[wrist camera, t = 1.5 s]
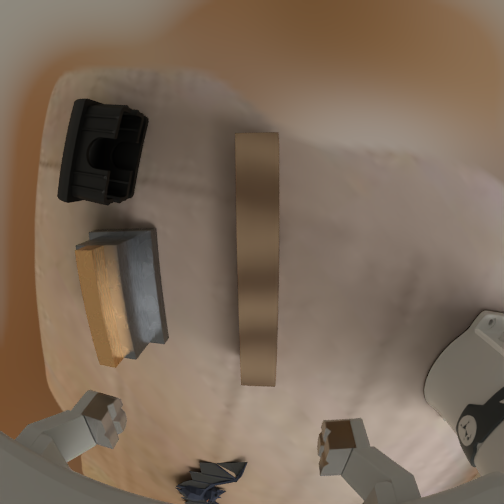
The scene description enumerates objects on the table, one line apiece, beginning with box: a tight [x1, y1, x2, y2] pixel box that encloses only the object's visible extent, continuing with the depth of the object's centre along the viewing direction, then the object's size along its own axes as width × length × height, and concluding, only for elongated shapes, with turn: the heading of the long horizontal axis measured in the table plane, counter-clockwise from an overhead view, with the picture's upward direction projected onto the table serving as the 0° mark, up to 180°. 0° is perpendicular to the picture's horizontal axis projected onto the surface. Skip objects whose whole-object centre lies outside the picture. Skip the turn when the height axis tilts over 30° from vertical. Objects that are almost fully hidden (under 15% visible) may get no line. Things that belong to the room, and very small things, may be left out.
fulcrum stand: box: [75, 228, 169, 368], centre depth 29 cm, size 8×13×8 cm, turn 1°
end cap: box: [57, 99, 148, 205], centre depth 26 cm, size 10×7×7 cm
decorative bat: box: [175, 462, 247, 504], centre depth 40 cm, size 30×4×10 cm
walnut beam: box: [235, 132, 279, 387], centre depth 28 cm, size 24×4×5 cm, turn 1°
